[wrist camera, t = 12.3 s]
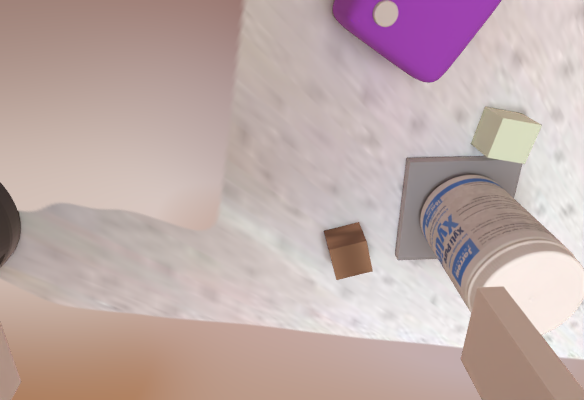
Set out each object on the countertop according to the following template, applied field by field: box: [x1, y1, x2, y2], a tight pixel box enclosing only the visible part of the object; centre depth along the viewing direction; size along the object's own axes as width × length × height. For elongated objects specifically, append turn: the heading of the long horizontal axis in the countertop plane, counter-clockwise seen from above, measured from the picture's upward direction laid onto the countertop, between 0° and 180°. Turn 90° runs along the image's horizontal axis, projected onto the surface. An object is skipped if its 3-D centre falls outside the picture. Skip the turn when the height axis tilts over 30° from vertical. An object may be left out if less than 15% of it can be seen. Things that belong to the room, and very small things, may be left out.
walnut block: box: [324, 222, 372, 280], centre depth 51 cm, size 4×4×4 cm
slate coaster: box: [395, 156, 522, 260], centre depth 52 cm, size 12×12×1 cm
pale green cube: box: [471, 107, 542, 164], centre depth 47 cm, size 4×4×4 cm
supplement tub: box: [420, 175, 584, 335], centre depth 45 cm, size 10×10×15 cm
